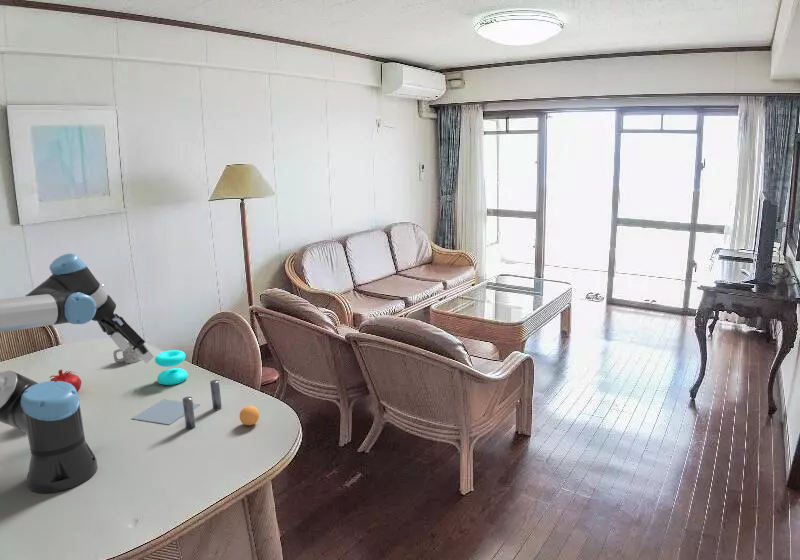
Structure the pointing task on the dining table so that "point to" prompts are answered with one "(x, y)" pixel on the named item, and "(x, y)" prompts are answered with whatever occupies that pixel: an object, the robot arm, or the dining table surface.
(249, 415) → the ball
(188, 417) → the near post
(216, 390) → the far post
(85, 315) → the robot arm
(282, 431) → the dining table surface
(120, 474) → the dining table surface
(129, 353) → the mug
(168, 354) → the donuts
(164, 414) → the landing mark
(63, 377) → the pomegranate
